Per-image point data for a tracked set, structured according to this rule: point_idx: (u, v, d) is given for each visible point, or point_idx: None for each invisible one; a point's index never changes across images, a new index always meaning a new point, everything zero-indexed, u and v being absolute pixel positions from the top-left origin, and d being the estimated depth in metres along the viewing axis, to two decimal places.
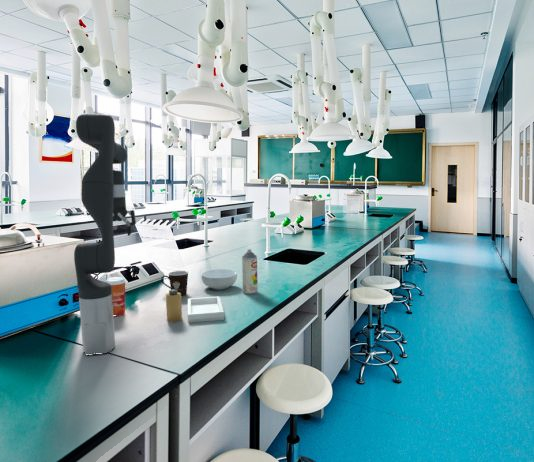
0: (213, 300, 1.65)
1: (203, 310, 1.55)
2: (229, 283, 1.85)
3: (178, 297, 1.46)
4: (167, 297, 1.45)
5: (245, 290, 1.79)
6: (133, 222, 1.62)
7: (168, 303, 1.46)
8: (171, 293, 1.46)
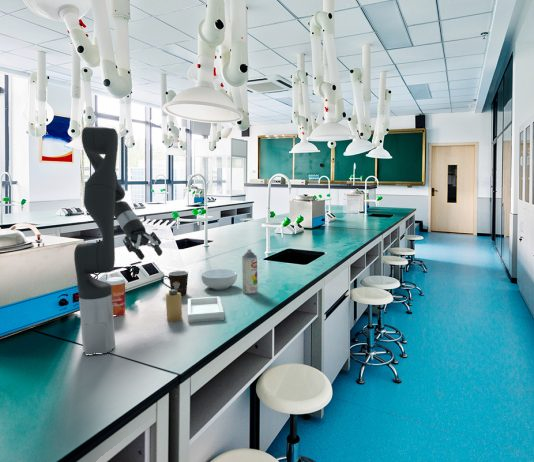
0: (213, 300, 1.65)
1: (203, 310, 1.55)
2: (229, 283, 1.85)
3: (178, 297, 1.46)
4: (167, 297, 1.45)
5: (245, 290, 1.79)
6: (159, 241, 1.58)
7: (168, 303, 1.46)
8: (171, 293, 1.46)
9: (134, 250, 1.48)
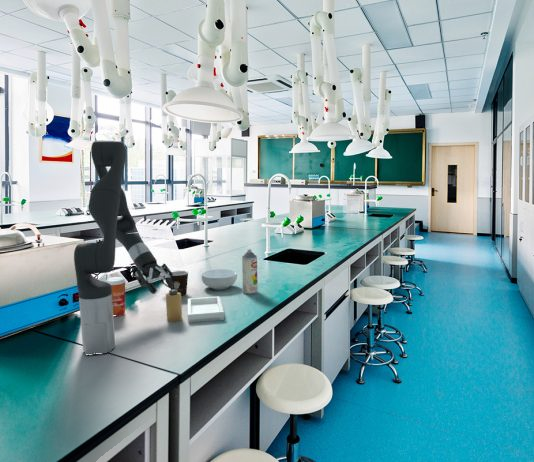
0: (213, 300, 1.65)
1: (203, 310, 1.55)
2: (229, 283, 1.85)
3: (178, 297, 1.46)
4: (167, 297, 1.45)
5: (245, 290, 1.79)
6: (171, 273, 1.56)
7: (168, 303, 1.46)
8: (171, 293, 1.46)
9: (146, 284, 1.47)
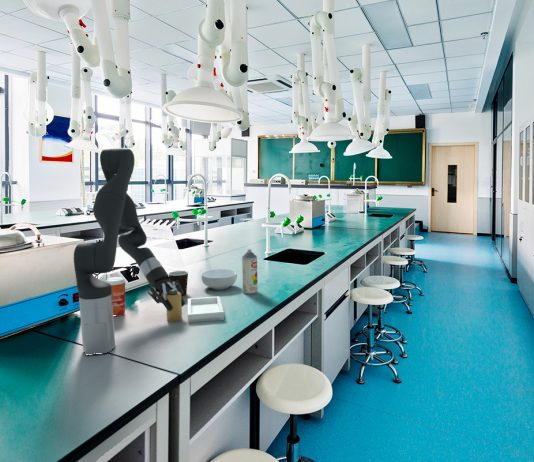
0: (213, 300, 1.65)
1: (203, 310, 1.55)
2: (229, 283, 1.85)
3: (178, 297, 1.46)
4: (167, 297, 1.45)
5: (245, 290, 1.79)
6: (181, 290, 1.52)
7: None
8: (171, 293, 1.46)
9: (162, 301, 1.45)
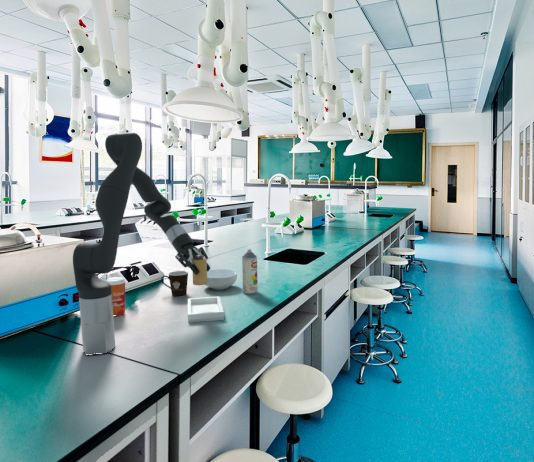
0: (213, 300, 1.65)
1: (203, 310, 1.55)
2: (229, 283, 1.85)
3: (204, 261, 1.51)
4: (194, 261, 1.51)
5: (245, 290, 1.79)
6: (206, 256, 1.58)
7: None
8: (197, 258, 1.51)
9: (189, 265, 1.50)
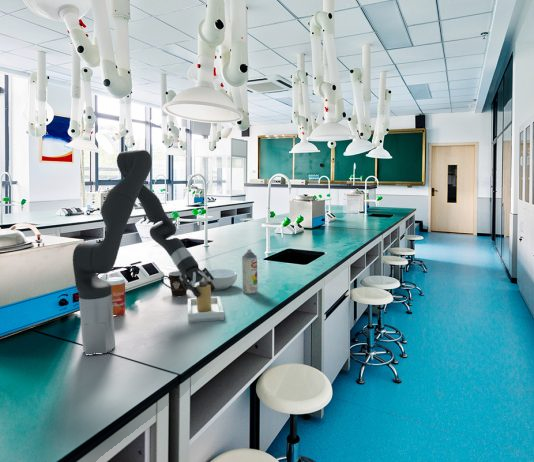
0: (213, 300, 1.65)
1: None
2: (229, 283, 1.85)
3: (208, 288, 1.53)
4: (198, 289, 1.52)
5: (245, 290, 1.79)
6: (212, 277, 1.60)
7: None
8: (201, 285, 1.53)
9: (190, 288, 1.51)
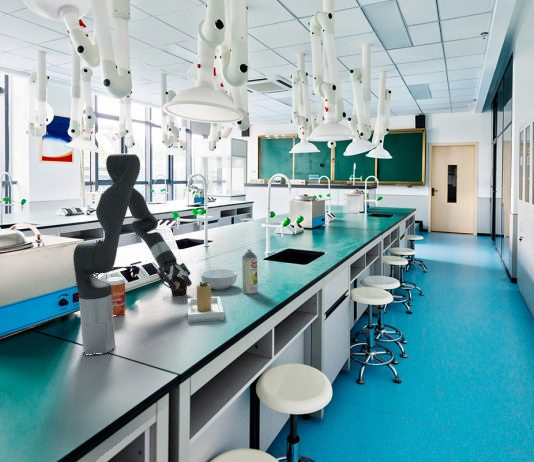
0: (213, 300, 1.65)
1: None
2: (229, 283, 1.85)
3: (209, 288, 1.53)
4: (199, 288, 1.52)
5: (245, 290, 1.79)
6: (188, 272, 1.67)
7: (199, 294, 1.53)
8: (202, 284, 1.53)
9: (167, 280, 1.56)
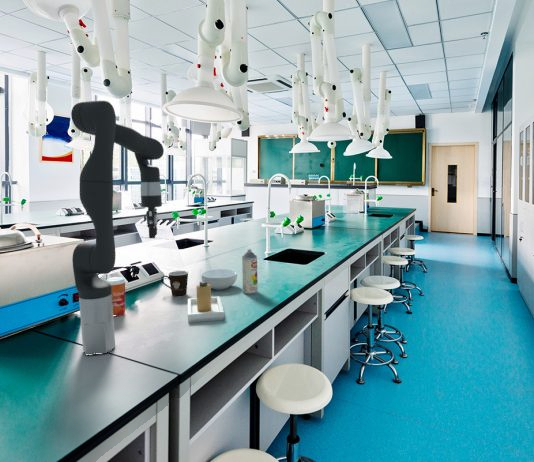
0: (213, 300, 1.65)
1: None
2: (229, 283, 1.85)
3: (208, 288, 1.53)
4: (199, 288, 1.52)
5: (245, 290, 1.79)
6: (157, 220, 1.59)
7: (199, 294, 1.53)
8: (202, 284, 1.53)
9: (151, 227, 1.47)
